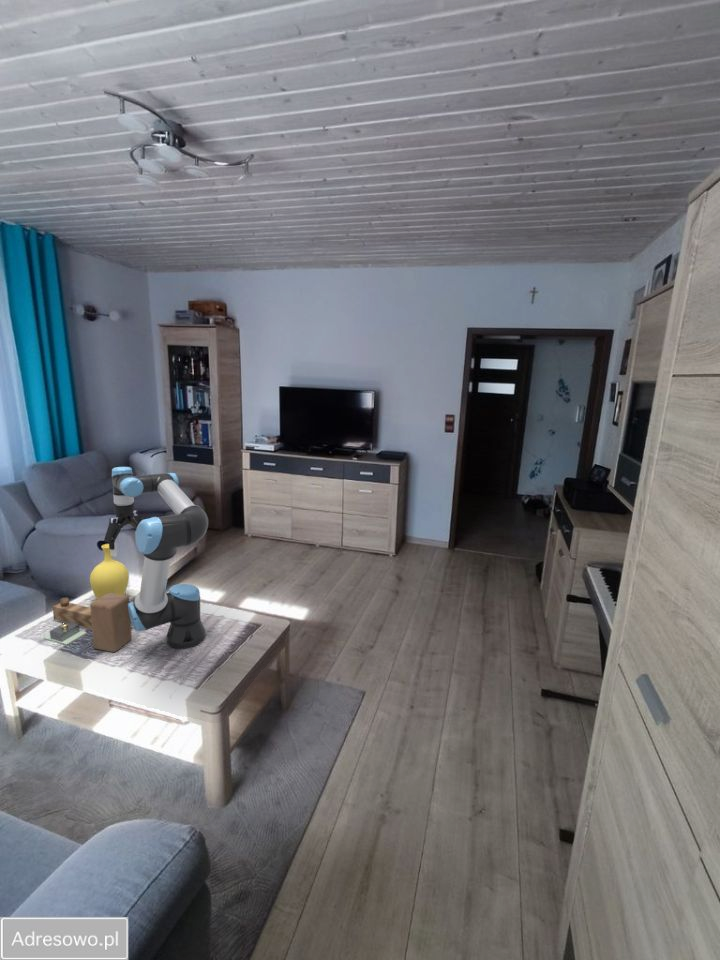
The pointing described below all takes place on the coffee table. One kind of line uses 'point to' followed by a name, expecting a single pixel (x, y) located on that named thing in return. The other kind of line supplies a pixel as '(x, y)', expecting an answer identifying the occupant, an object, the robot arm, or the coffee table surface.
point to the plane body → (72, 614)
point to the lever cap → (64, 631)
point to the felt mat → (68, 638)
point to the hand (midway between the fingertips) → (127, 550)
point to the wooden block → (110, 622)
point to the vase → (109, 576)
